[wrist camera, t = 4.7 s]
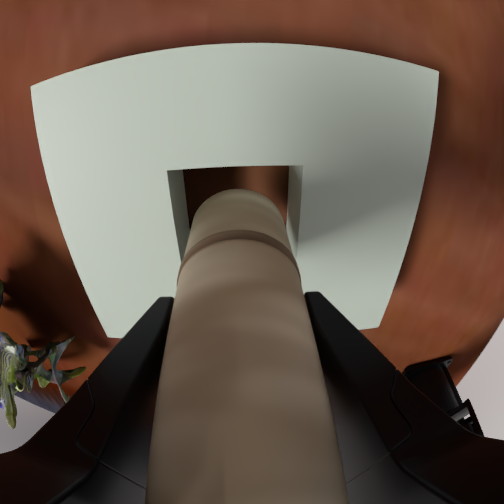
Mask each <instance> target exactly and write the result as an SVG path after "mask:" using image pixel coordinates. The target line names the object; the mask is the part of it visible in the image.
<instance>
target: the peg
mask: <svg viewBox="0 0 504 504" xmlns="http://www.w3.org/2000/svg"><path fill="white" fill-rule="evenodd" d="M145 504H350V503H349V497H348V492H347V486H346V481H345V475H344V470H343V464H342V459H341V454H340V449H339V444H338V439H337V434H336V429H335V425H334V420H333V415H332V410H331V406H330V401H329V397H328V392H327V388H326V383H325V379H324V375H323V370H322V366H321V362H320V358H319V353H318V349H317V345H316V341H315V337H314V333H313V329H312V325H311V321H310V317H309V313H308V309H307V305H306V301H305V297H304V293H303V290H302V286H301V275H300V272H299V268H298V265H297V262H296V260H295V258H294V256H293V253H292V249H291V245H290V242H289V238H288V235H287V231H286V228H285V224H284V221H283V218H282V215H281V213H280V211H279V209H278V208H277V206H276V205H275V204H274V203H273V202H272V201H271V200H270V199H268V198H267V197H265V196H264V195H262V194H260V193H258V192H255V191H251V190H246V189H230V190H225V191H222V192H219V193H217V194H215V195H213V196H211V197H210V198H208V199H207V200H206V201H205V202H204V203H202V205H201V206H200V207H199V208H198V210H197V212H196V213H195V216H194V218H193V222H192V226H191V230H190V234H189V238H188V242H187V246H186V250H185V255H184V258H183V260H182V262H181V265H180V269H179V273H178V277H177V290H176V294H175V299H174V304H173V309H172V314H171V319H170V324H169V329H168V334H167V339H166V345H165V350H164V356H163V361H162V367H161V373H160V379H159V385H158V392H157V398H156V405H155V412H154V419H153V427H152V435H151V443H150V452H149V461H148V471H147V482H146V494H145Z"/></svg>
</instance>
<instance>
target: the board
mask: <svg viewBox="0 0 504 504" xmlns="http://www.w3.org/2000/svg"><path fill="white" fill-rule="evenodd" d="M438 79H439V71H436V70H433V69H430V68H426V67H423V66H419V65H416V64H412V63H409V62H405V61H401V60H397V59H392V58H388V57H383V56H379V55H374V54H369V53H363V52H357V51H351V50H345V49H338V48H330V47H321V46H311V45H299V44H281V43H230V44H212V45H199V46H189V47H181V48H173V49H166V50H159V51H153V52H147V53H142V54H137V55H132V56H127V57H122V58H118V59H114V60H110V61H106V62H102V63H98V64H94V65H91V66H87V67H84V68H81V69H77V70H74V71H71V72H68V73H65V74H62V75H59V76H56V77H54V78H51V79H48V80H45V81H43V82H40V83H38V84H35V85H33V86H31V95H32V104H33V111H34V118H35V124H36V130H37V136H38V141H39V146H40V151H41V156H42V161H43V165H44V169H45V173H46V177H47V181H48V185H49V189H50V193H51V196H52V200H53V203H54V207H55V210H56V213H57V216H58V219H59V223H60V226H61V229H62V232H63V234H64V237H65V240H66V243H67V246H68V248H69V251H70V254H71V256H72V259H73V262H74V264H75V267H76V269H77V272H78V274H79V277H80V279H81V281H82V284H83V286H84V288H85V291H86V293H87V295H88V297H89V300H90V302H91V304H92V306H93V308H94V310H95V312H96V314H97V317H98V319H99V321H100V323H101V325H102V327H103V329H104V331H105V333H106V334H107V336H108V337H111V338H123V337H124V336H125V335H126V333H127V332H128V331H129V330H130V329H131V328H132V327H133V326H134V324H135V323H136V322H137V321H138V320H139V319H140V318H141V317H142V315H143V314H144V313H145V312H146V311H147V310H148V309H149V308H150V307H151V306H152V304H153V303H154V302H155V301H156V300H157V299H158V298H159V297H168V296H171V297H173V298H174V299H175V294H176V290H177V277H178V273H179V269H180V265H181V262H182V260H183V258H184V255H185V250H186V246H187V242H188V238H189V234H190V227H189V219H188V211H187V203H186V195H185V187H184V178H183V169H194V168H211V167H232V166H270V165H289V182H288V204H287V224H286V231H287V235H288V238H289V242H290V245H291V249H292V253H293V256H294V258H295V260H296V262H297V265H298V268H299V272H300V275H301V286H302V290H303V293H305V292H311V291H319V292H320V293H321V294H322V295H323V296H324V297H325V298H326V299H327V300H329V301H330V302H331V303H332V304H333V305H334V306H335V307H336V308H337V309H338V310H339V311H340V312H341V313H342V314H343V315H344V316H345V317H346V318H347V319H348V320H349V321H350V322H351V323H352V324H353V325H354V326H355V327H356V328H357V329H358V330H361V329H369V328H376V327H379V324H380V322H381V320H382V317H383V315H384V312H385V309H386V307H387V304H388V302H389V299H390V296H391V294H392V291H393V288H394V285H395V282H396V280H397V277H398V274H399V271H400V268H401V265H402V262H403V259H404V255H405V252H406V249H407V246H408V242H409V239H410V235H411V232H412V228H413V225H414V221H415V217H416V213H417V209H418V205H419V201H420V197H421V193H422V188H423V184H424V179H425V174H426V169H427V164H428V159H429V153H430V147H431V141H432V135H433V128H434V120H435V112H436V103H437V92H438Z"/></svg>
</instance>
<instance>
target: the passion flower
mask: <svg viewBox="0 0 504 504" xmlns="http://www.w3.org/2000/svg"><path fill="white" fill-rule="evenodd" d="M3 290H4V286H3V283H2V281H1V280H0V307H1V304H2V301H3ZM74 338H75V336H73V337H71V338H68V339H67V340H65V341H63V342H59V341H58V342H54V343H53V342H49V343H48V344H47V345H45V347H43V348H42V349H41V350H36V351H31V346H30V345H29V346H27V345H25V344H22V345H18V344H17V343H16V342H14V341H13V340H12V338H11V337H10V336H9V335H8V334H7V333H5V332H0V407H1V408H3V409H4V410H5V412H6V420H7V423H8V425H9V426H10V427H12V429H14V428H15V426H16V416H17V409H16V404H15V401H14V394H15V393H16V392H17V391H18V390H19V391H20V392H21V391H23V389H24V386H25V387H27V390H28V392H31V389H32V383H33V381H34V379H35V378H37V379H38V382H39V385H40V387H42V388H43V387H45V386H46V385H47V384H48V383H49V382H53V383H56V384H58V386H59V389H60V392H61V395H62V397H63V398H64V400H65V401H64V405H65V404H66V403H67V402H68V400H69V397H68V396H66V395H65V394H64V391H63V389H62V387H61V384H62V383H64V382H66V381H67V380H69V379H72V378H73V377H76V376H79V375H81V374H82V373H83V372H84V371H85V369H86V367H85V366H84V367H79V368H76V369H73V370H65V371H64V370H59V371H57V369H56V365H57V362H58V360H59V358H60V357H61V355H62V352H63V351H64V350H65V349H66V347H67V346H68V344H69V343H70V342H71V341H72V340H73V339H74ZM29 355H34V356H37V357H38V360H37V361H36V362H29ZM47 358H49V359H50V362H51V366H52V369H49V371H46V370H45V368H44V367H43V365H42V363H43V362H44V361H45V360H46V359H47Z"/></svg>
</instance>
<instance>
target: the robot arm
mask: <svg viewBox="0 0 504 504" xmlns="http://www.w3.org/2000/svg"><path fill="white" fill-rule="evenodd" d="M304 297H305V301H306V305H307V309H308V313H309V317H310V321H311V325H312V329H313V333H314V337H315V341H316V345H317V349H318V353H319V358H320V362H321V366H322V370H323V375H324V379H325V383H326V388H327V392H328V397H329V401H330V406H331V410H332V415H333V420H334V425H335V429H336V434H337V439H338V444H339V449H340V454H341V459H342V464H343V470H344V475H345V481H346V486H347V492H348V497H349V503H350V504H504V440H499V439H493V438H487V437H484V435H483V432H482V430H481V427H480V424H479V422H478V419H477V417H476V414H475V412H474V409H473V407H472V405H471V402H470V400H469V399H467V400H466V401H465V402H464V403H462V400H461V398H460V396H459V394H458V391H457V389H456V387H455V385H454V382H453V380H452V378H451V376H450V374H449V372H448V370H447V367H448V366H449V365H450V363H451V362H452V361H453V359H452V357H451V356H449V357H446V358H442V359H439V360H435V361H431V362H427V363H423V364H419V365H415V366H411V367H408V368H406V369H405V370H404V372H403V373H401V372H400V371H399V370H396V367H395V366H394V365H393V364H392V363H391V362H390V361H389V360H388V359H387V358H386V357H385V356H384V355H383V354H382V353H381V352H380V351H379V350H378V349H377V348H376V347H375V346H374V345H373V344H372V343H371V342H370V341H369V340H368V339H367V338H366V337H365V336H364V335H363V334H362V333H361V332H360V331H359V330H358V329H357V328H356V327H355V326H354V325H353V324H352V323H351V322H350V321H349V320H348V319H347V318H346V317H345V316H344V315H343V314H342V313H341V312H340V311H339V310H338V309H337V308H336V307H335V306H334V305H333V304H332V303H331V302H330V301H329V300H327V299H326V298H325V297H324V296H323V295H322V294H321V293H320V292H319V291H311V292H305V293H304ZM173 304H174V298H173V297H171V296H168V297H159V298H158V299H157V300H156V301H155V302H154V303H153V304H152V306H151V307H150V308H149V309H148V310H147V311H146V312H145V313H144V314H143V315H142V317H141V318H140V319H139V320H138V321H137V322H136V323H135V324H134V326H133V327H132V328H131V329H130V330H129V331H128V332H127V333H126V335H125V336H124V337H123V338H122V339H121V340H120V341H119V342H118V344H117V345H116V346H115V347H114V348H113V349H112V351H111V352H110V353H109V354H108V355H107V356H106V357H105V359H104V360H103V361H102V362H101V363H100V364H99V366H98V367H97V368H96V369H95V370H94V371H93V373H92V374H91V375H90V376H89V377H88V380H86V381H85V382H84V383H83V384H82V385H81V387H80V388H79V389H78V390H77V391H76V392H75V394H74V395H73V396H72V397H71V398H70V399H69V400H68V402H67V403H66V404H65V405H64V406H63V407H62V408H61V409H60V410H59V411H58V412H57V413H56V414H55V415H54V416H53V417H52V418H51V419H50V420H49V421H48V422H47V423H46V424H45V425H44V426H43V427H42V428H41V429H40V430H39V431H38V432H37V433H36V434H35V435H34V436H33V437H32V438H31V439H30V440H28V441H27V442H26V443H25V444H24V445H22V446H21V447H19V448H17V449H15V450H13V451H9V452H6V453H2V454H0V504H145V494H146V482H147V471H148V461H149V452H150V443H151V435H152V427H153V419H154V412H155V405H156V398H157V392H158V385H159V379H160V373H161V367H162V361H163V356H164V350H165V345H166V339H167V334H168V329H169V324H170V319H171V314H172V309H173ZM468 414H470V417H468V418H467V419H464V417H465V416H466V415H468Z"/></svg>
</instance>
